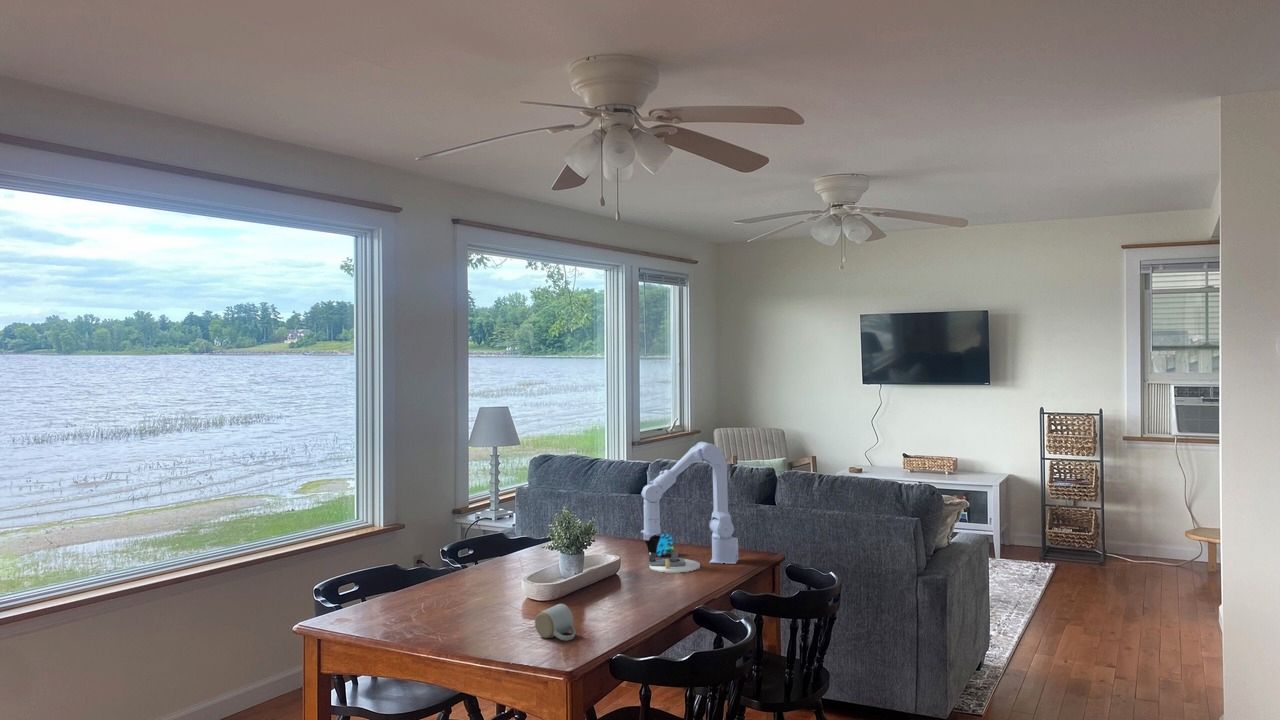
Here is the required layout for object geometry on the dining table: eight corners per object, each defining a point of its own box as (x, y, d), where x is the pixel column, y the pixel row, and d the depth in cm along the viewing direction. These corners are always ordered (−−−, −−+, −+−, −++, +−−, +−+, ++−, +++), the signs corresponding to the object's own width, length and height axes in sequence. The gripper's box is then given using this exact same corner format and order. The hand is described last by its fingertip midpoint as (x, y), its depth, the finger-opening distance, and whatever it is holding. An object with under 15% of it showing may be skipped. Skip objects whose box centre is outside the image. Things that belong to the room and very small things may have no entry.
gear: (643, 550, 331) (658, 529, 335) (650, 559, 334) (665, 538, 339) (664, 559, 323) (678, 537, 327) (671, 568, 326) (685, 546, 331)
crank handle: (682, 561, 314) (682, 549, 314) (685, 565, 307) (685, 553, 307) (648, 562, 312) (647, 550, 313) (650, 566, 306) (649, 554, 306)
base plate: (704, 562, 316) (704, 548, 316) (694, 574, 299) (694, 559, 299) (656, 560, 321) (656, 547, 321) (643, 572, 304) (643, 557, 304)
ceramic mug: (532, 636, 233) (532, 608, 233) (554, 629, 239) (554, 601, 239) (561, 644, 226) (561, 615, 226) (582, 636, 232) (582, 608, 232)
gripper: (647, 514, 319) (647, 551, 319) (634, 521, 305) (635, 560, 305) (665, 515, 317) (666, 552, 317) (654, 522, 303) (654, 561, 303)
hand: (652, 556), depth 311 cm, fingers closed, pressing on crank handle
